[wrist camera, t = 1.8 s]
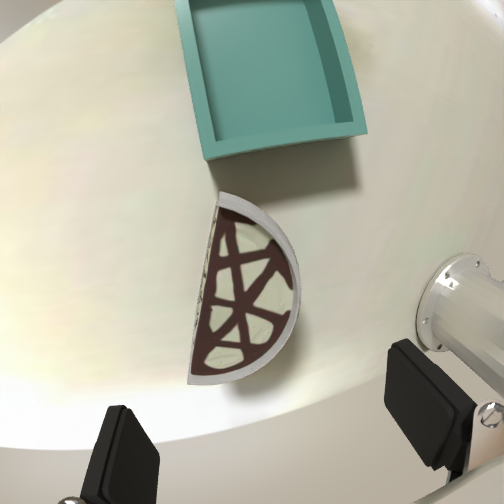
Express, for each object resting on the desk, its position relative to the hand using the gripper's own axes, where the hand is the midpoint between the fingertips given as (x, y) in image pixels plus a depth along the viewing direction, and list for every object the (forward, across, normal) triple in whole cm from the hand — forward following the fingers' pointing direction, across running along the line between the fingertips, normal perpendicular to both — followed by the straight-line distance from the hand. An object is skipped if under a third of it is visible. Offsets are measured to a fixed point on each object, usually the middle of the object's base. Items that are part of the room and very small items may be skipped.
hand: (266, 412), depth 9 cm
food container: (+18, -1, 0) cm, 18 cm away
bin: (+18, -6, -18) cm, 26 cm away
